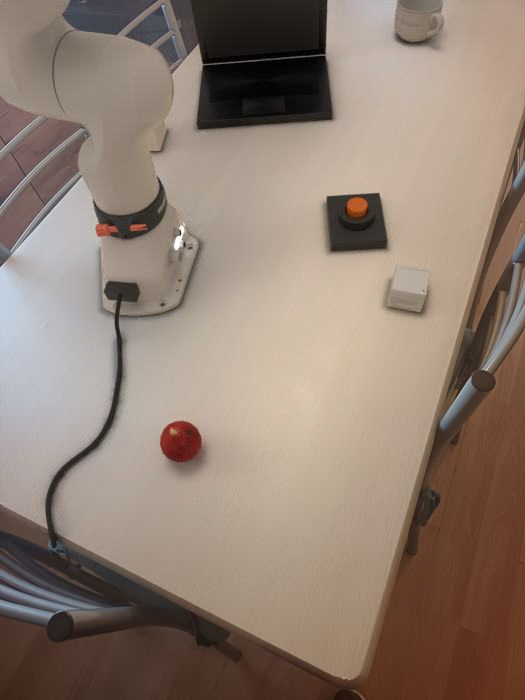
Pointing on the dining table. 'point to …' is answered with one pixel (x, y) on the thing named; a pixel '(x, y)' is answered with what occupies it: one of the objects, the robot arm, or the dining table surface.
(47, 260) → the dining table surface
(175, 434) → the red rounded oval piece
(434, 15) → the teacup
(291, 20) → the laptop screen
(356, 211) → the switch button
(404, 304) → the small box
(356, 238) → the switch block
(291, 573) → the dining table surface
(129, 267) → the robot arm
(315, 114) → the laptop
